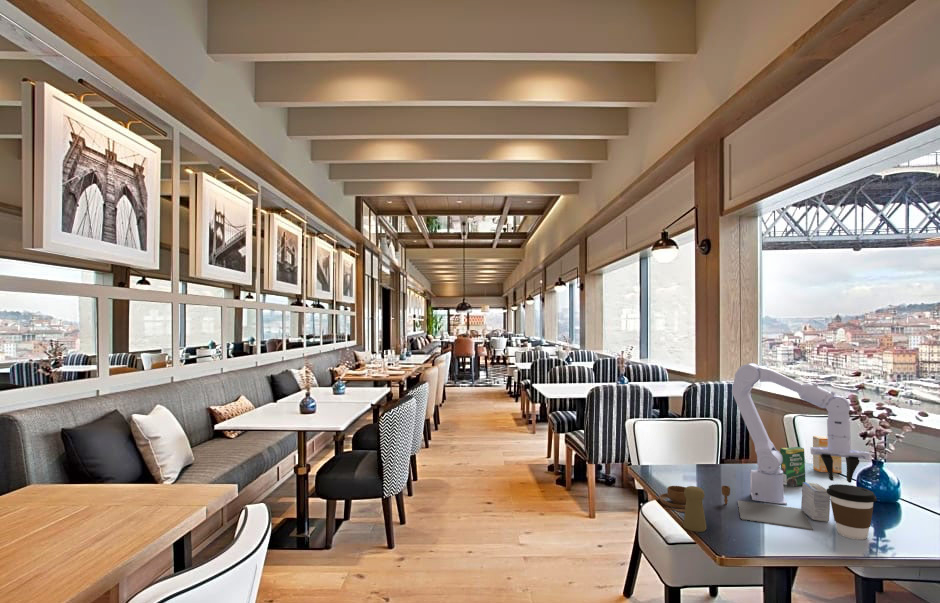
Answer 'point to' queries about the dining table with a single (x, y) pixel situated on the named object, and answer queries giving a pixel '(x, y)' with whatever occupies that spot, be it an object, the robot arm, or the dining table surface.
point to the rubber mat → (773, 514)
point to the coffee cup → (852, 510)
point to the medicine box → (815, 501)
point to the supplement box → (817, 460)
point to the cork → (694, 509)
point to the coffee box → (793, 466)
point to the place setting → (683, 497)
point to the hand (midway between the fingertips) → (840, 480)
